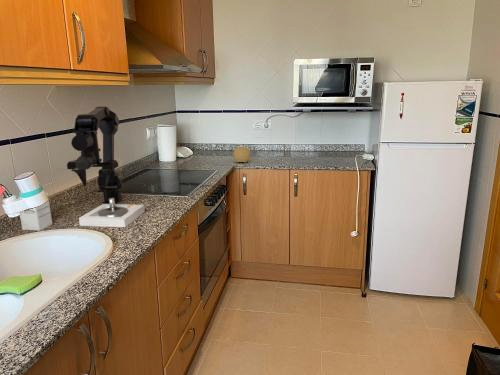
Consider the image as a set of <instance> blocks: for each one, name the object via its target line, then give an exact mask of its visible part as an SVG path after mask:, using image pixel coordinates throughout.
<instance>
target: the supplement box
mask: <svg viewBox="0 0 500 375" xmlns="http://www.w3.org/2000/svg"><path fill="white" fill-rule="evenodd" d="M45 193H46V195H47V198H48V201H47V202H46V203H45V204H43V205H41V206H39V207H36V208H33V209H29V210H26V211H24V212H23V213H22V214H21V215H20V214H19V217H20V222H21V224H20V225H21V229H22V231H39V232H41V231H42V230H45V229H47V228H48V227H50V226H52V225H53V219H52V213H51V207H50V205H51V204H50V199H49V193H48V192H45Z"/></svg>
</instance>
